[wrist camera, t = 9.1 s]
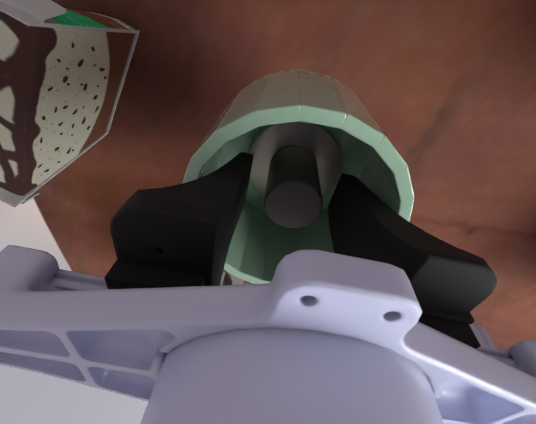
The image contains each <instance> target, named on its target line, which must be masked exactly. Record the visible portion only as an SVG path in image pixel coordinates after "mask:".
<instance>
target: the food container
mask: <svg viewBox="0 0 536 424" xmlns="http://www.w3.org/2000/svg"><path fill="white" fill-rule="evenodd" d="M139 32H140V30H138V29H137V28H135V27H134V26H132V25H130V24H129V23H127V22H125V21H124V20H121V19H117V18H114V17H110V16H107V15H104V14H100V13H93V12H87V11H80V10H74V9H68V8H63V7H62V6H60V5H58V4H57V3H55V2H53V1H52V0H0V200H1V201H3V202H5V203H7V204H9V205H11V206H13V207H16V206H17V205H19V204H20V203H22V204H23V203H25V202H27V201H29V200H30V199H32V198H34V197H35V196H37V195H39V192H37V190H38V189H39V188H41V187H42V186H43V185H44V184H46V183H47V182H48V181H49V180H51V179H52V178H53V177H54V176H56V175H57V174H58V173H60V172H61V171H62V170H63V169H65V168H66V167H67V166H68V165H70V164H71V163H72V162H73V161H75V160H76V159H77V158H78V157H80V156H81V155H82V154H84V153H85V152H86V151H87V150H89V149H90V148H91V147H92V146H94V145H95V144H96V143H97V142H99V141H100V140H101V139H102V138H104V137H105V136H106V135H108V133H109V130H110V127H111V123H112V120H113V117H114V114H115V110H116V107H117V104H118V101H119V97H120V94H121V91H122V88H123V84H124V81H125V78H126V75H127V71H128V68H129V65H130V62H131V58H132V55H133V52H134V49H135V45H136V42H137V39H138V36H139Z"/></svg>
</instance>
